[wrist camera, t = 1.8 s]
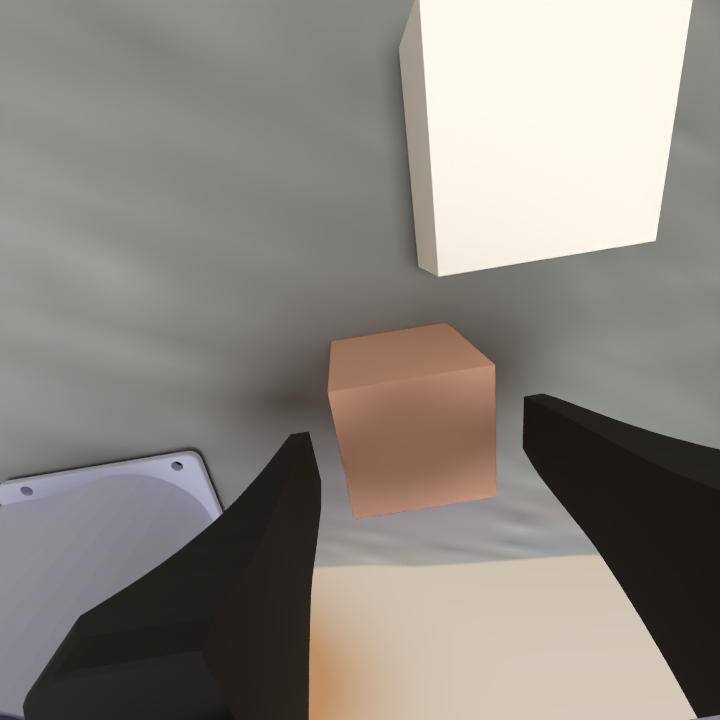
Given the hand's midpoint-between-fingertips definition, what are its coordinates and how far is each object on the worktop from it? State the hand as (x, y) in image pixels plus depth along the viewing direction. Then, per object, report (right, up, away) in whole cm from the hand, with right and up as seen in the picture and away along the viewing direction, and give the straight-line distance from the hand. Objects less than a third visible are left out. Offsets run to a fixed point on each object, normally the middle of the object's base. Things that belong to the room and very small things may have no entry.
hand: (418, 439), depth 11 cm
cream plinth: (+3, +10, +1) cm, 11 cm away
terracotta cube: (0, +2, +4) cm, 5 cm away
